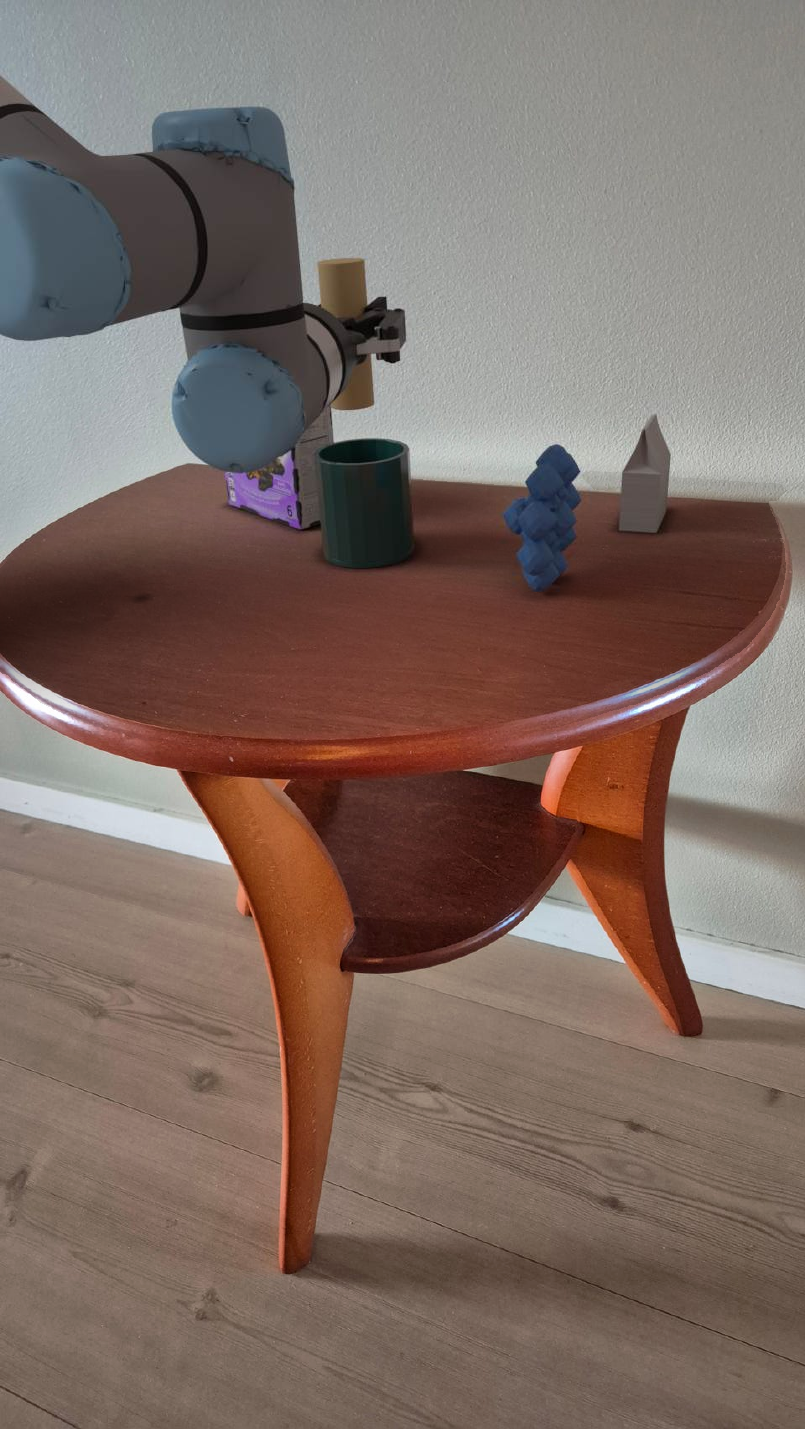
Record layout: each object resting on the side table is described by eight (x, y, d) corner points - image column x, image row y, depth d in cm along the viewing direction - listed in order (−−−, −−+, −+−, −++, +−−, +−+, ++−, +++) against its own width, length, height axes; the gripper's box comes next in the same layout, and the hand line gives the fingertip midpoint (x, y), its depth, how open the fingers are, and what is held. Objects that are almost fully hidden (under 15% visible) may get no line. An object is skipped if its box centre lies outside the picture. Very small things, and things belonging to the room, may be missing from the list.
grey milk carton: (666, 511, 103) (674, 414, 98) (656, 533, 98) (664, 431, 93) (630, 508, 105) (636, 412, 100) (618, 530, 99) (624, 430, 94)
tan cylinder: (326, 411, 88) (312, 264, 82) (335, 400, 92) (323, 259, 86) (369, 410, 88) (359, 262, 82) (378, 399, 91) (368, 257, 85)
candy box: (226, 505, 113) (204, 355, 105) (268, 493, 117) (250, 346, 108) (300, 531, 104) (282, 369, 96) (343, 517, 107) (329, 359, 99)
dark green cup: (314, 568, 95) (303, 465, 90) (334, 535, 103) (325, 438, 98) (406, 568, 94) (400, 464, 89) (420, 535, 101) (415, 437, 96)
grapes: (522, 554, 95) (522, 428, 89) (591, 561, 93) (596, 432, 87) (481, 601, 86) (479, 465, 80) (557, 610, 84) (560, 470, 78)
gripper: (189, 420, 74) (274, 358, 94) (412, 416, 72) (451, 353, 91) (172, 314, 71) (263, 273, 90) (407, 305, 68) (448, 264, 88)
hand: (358, 313), depth 91 cm, fingers closed on tan cylinder, 4 cm apart
